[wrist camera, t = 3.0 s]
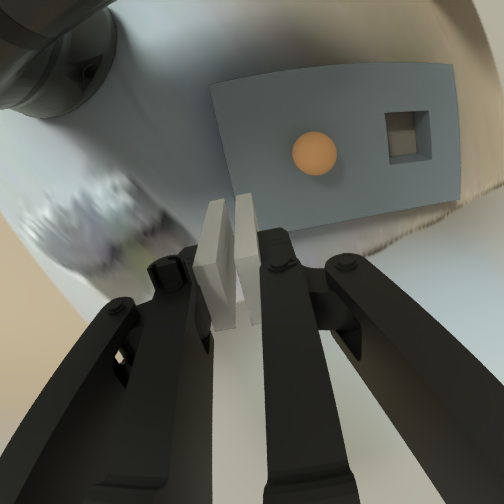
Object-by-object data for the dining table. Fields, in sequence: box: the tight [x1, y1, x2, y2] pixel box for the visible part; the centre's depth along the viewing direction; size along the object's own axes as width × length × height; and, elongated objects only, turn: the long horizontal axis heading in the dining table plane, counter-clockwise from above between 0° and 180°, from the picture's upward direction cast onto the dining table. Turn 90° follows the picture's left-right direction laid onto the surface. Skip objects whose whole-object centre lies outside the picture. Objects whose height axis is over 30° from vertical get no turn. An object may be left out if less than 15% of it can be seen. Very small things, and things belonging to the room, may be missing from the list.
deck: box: [209, 62, 461, 232], centre depth 30 cm, size 26×16×4 cm, turn 102°
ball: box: [292, 132, 337, 175], centre depth 27 cm, size 4×4×4 cm
